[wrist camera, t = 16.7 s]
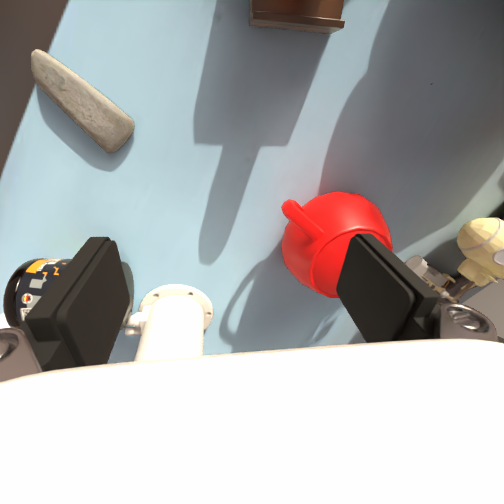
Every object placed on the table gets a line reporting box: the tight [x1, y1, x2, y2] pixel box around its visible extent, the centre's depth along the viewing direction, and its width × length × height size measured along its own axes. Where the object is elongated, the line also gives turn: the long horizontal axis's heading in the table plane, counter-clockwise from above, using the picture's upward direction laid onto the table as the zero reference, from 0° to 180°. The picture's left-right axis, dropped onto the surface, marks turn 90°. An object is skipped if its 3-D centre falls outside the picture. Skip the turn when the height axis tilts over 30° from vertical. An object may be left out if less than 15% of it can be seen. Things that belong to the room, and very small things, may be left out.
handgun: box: [405, 255, 478, 307], centre depth 48 cm, size 3×18×15 cm
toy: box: [440, 217, 504, 301], centre depth 42 cm, size 9×17×15 cm
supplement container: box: [3, 258, 134, 330], centre depth 36 cm, size 10×10×12 cm
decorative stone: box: [31, 49, 134, 154], centre depth 28 cm, size 11×1×5 cm
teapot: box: [281, 191, 393, 298], centre depth 37 cm, size 25×16×12 cm, turn 48°
